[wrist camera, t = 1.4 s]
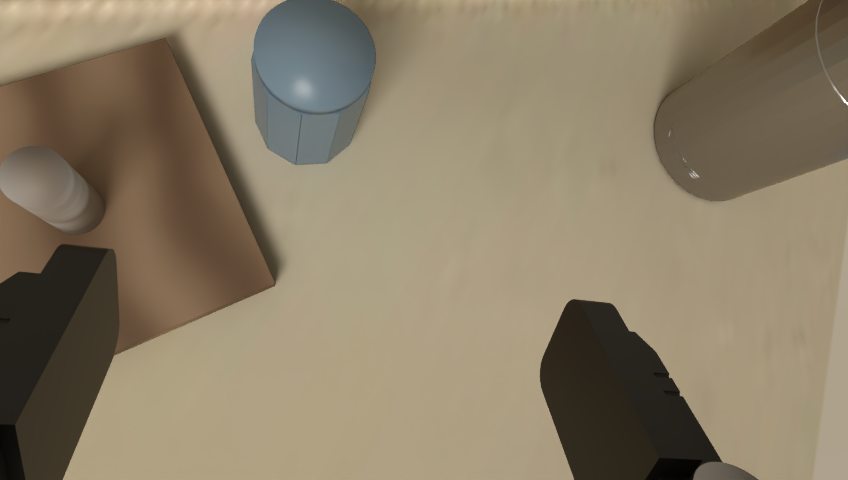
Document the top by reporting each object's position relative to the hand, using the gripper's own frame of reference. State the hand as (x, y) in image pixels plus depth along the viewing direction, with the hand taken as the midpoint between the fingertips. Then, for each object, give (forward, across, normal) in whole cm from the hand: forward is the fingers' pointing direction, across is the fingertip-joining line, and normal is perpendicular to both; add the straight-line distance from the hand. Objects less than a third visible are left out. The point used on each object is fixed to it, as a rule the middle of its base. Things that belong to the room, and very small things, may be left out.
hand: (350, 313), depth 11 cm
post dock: (+24, +12, +14) cm, 30 cm away
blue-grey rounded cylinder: (+29, +1, +9) cm, 30 cm away
